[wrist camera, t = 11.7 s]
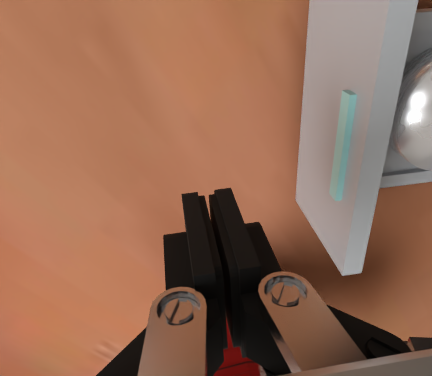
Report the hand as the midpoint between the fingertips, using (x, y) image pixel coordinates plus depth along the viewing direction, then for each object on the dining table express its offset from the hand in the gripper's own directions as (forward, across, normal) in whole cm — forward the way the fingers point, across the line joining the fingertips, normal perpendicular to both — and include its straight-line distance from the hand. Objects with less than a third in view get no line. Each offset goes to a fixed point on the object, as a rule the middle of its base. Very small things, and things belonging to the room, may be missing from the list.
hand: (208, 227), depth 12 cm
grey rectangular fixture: (+9, -13, -1) cm, 16 cm away
